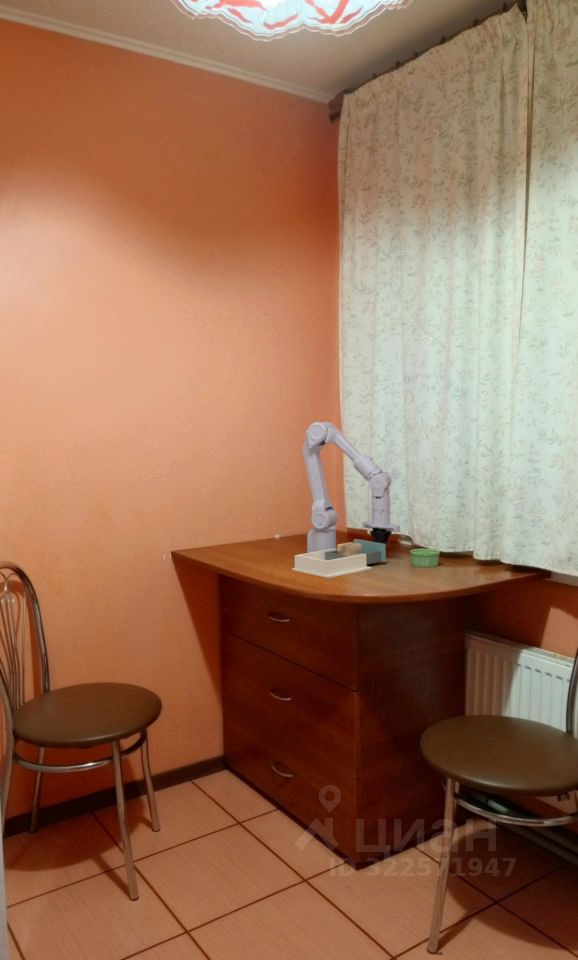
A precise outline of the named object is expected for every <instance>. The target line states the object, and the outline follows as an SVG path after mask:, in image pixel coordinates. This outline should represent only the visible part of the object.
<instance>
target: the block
mask: <svg viewBox="0 0 578 960" xmlns="http://www.w3.org/2000/svg"><path fill="white" fill-rule="evenodd" d="M336 549H337V550H338V554H341V555H346V556H353V555H358V554H362V547H361V544H359V543H354V541H353V542H345V543H340V544H336Z"/></svg>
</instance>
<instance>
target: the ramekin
mask: <svg viewBox="0 0 578 960" xmlns="http://www.w3.org/2000/svg"><path fill="white" fill-rule="evenodd" d="M409 553H410V562H411V565H412V566H413V567H417V568H425V567H427V568H435V566H436V567H437V566H438V565H439V563H440V562H439V560H440V554H441V551H440V550H438V549H433V548H415V549H414V548H413V549H411V550H410V551H409Z"/></svg>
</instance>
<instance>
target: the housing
mask: <svg viewBox="0 0 578 960" xmlns="http://www.w3.org/2000/svg"><path fill="white" fill-rule="evenodd" d="M335 550H338V549H337V548H336V549H328V550H322V551H316V552H311V553H307V552H306V553H300V554H295V555H294V567H292V568H291V569H292V571H295V572H300V573H304V574H307V575H308V574H309V575H313V576H317V577H322V578H326V579H332V578H337V577H340V576H346V575H350V574H354V573H361V572H364V571H365V572H366V571H370V570H372V569H373V567H372V566H368V565H367V564H366V554H359V555H354V556H349V557H343V558H338V559H333V560H327V561H326V560H325V552H330V551H335Z"/></svg>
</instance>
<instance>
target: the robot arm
mask: <svg viewBox="0 0 578 960" xmlns="http://www.w3.org/2000/svg"><path fill="white" fill-rule="evenodd" d="M326 444H331V445H334V446H336V447H337V448H338V449H339V450H341V452H343V453H344V454H345V455H346V456H347V457H348V458H349V459H350V460H351V461H352V462H353V468H354V469H355V470H356V471H357V472H358V473H359V474H360V475H361V476H362V477H363V478H364V479H365V480H366V481H367V482H368V485H369V487H370V489H371V521H362V523H361V526H362V529H372V530H369V533H370V535H371V537H372V539H373V542H376V543H382V544H387V541H388V539H389V537H390V538H391V535H392V532H393V533H400V532H401V525H398V524H394V523H390V520H391V517H390V516H391V508H390V507H391V505H390V504H391V501H390V500H391V499H390V498H391V497H390V486H391V485H392V477H391V476H390V475H391V474H390V473H389V472H387V471H384V468H382V467H379V465H378V464H376V463H375V461H374V458H373V457H372V456H371V455H367V454H361V452H360V451H358V449H357V448H356V447H355V446H354V444H352V443H351V442H350V441H349V440H348V438H347V437H346V436H345V435H344V434H343V432H342V431H340V429H339V428H337V427H336V426H335V425H334V424H333V423H332V422H329V421H323V422H322V421H321V422H320V421H315V422H313V423H311V424H310V426H309V427H308V428H307V430H306V431H305V438H304V442H303V445H302V455H303V459H304V463H305V469H306V473H307V479H308V482H309V483H308V484H309V487H310V488H309V489H310V493H311V498H312V506H311V518H310V523H311V525H312V527H313V528H311V529H310V530H309V531H308V532H307V537H306V545H307V546H306V547H307V550H306V551H307V552H306V553H311V552H316V551H322V550H328V549H337V531H336V530H337V528H336V524H337V523H338V520H339V514H338V512H337V511H336V509H335V508H334V505H333V502H332V501H331V499H330V496H329V491H328V488H327V483H326V479H325V477H326V476H325V473H324V469H323V464H322V463H323V462H322V458H321V455H320V452H321V451H322V449H323V447H324V446H325V445H326Z"/></svg>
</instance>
